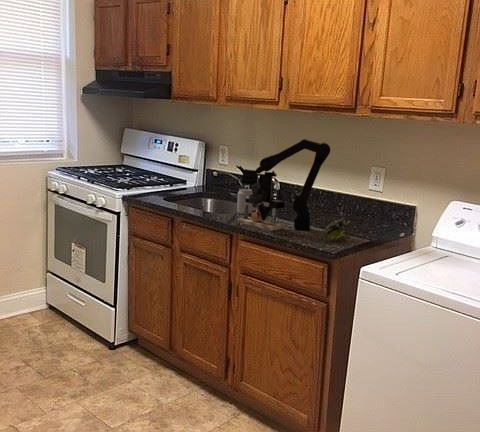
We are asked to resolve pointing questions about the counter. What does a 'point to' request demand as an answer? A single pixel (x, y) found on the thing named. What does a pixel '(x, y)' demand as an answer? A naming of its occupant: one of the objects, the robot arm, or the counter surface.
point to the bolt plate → (259, 224)
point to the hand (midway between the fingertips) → (263, 220)
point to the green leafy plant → (337, 228)
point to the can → (243, 200)
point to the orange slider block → (256, 216)
